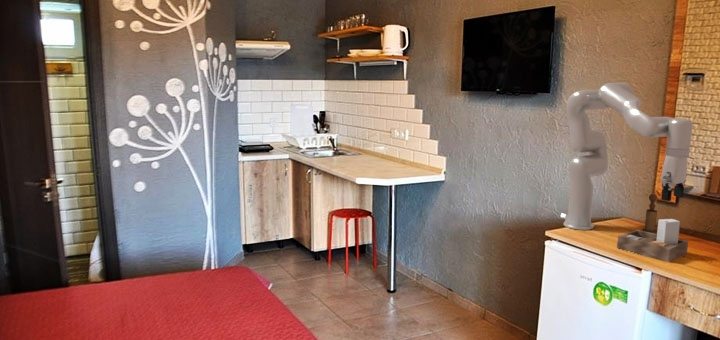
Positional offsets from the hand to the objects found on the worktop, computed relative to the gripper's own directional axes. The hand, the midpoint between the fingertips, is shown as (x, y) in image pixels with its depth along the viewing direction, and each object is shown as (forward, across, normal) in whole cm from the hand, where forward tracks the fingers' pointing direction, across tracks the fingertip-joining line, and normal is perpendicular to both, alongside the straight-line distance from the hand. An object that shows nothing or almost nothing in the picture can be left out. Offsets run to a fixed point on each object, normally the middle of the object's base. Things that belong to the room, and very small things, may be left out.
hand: (672, 198), depth 200 cm
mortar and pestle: (+22, -17, -14) cm, 31 cm away
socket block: (+21, +2, -4) cm, 22 cm away
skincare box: (+20, +1, 0) cm, 21 cm away
